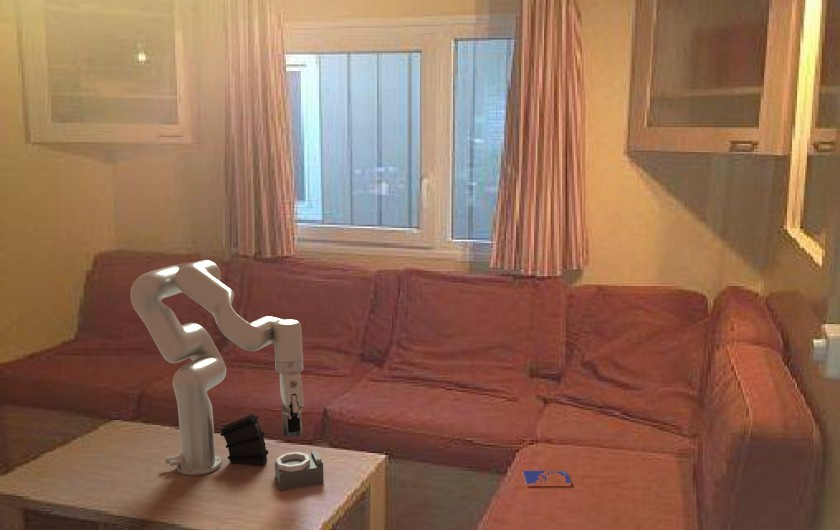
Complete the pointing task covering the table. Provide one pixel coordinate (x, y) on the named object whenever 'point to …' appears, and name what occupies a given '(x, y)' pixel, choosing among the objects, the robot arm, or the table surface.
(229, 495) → the table surface
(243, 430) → the black device
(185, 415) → the robot arm
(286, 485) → the camera body
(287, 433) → the lens
